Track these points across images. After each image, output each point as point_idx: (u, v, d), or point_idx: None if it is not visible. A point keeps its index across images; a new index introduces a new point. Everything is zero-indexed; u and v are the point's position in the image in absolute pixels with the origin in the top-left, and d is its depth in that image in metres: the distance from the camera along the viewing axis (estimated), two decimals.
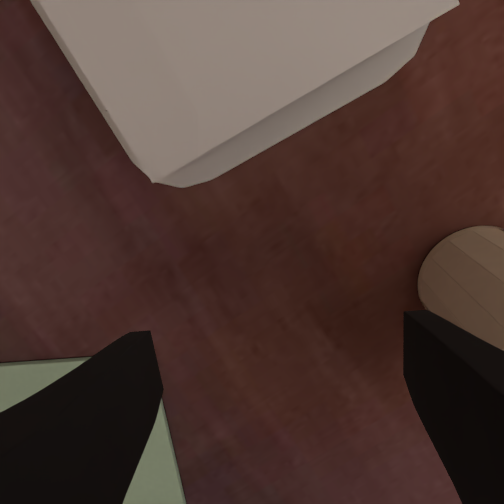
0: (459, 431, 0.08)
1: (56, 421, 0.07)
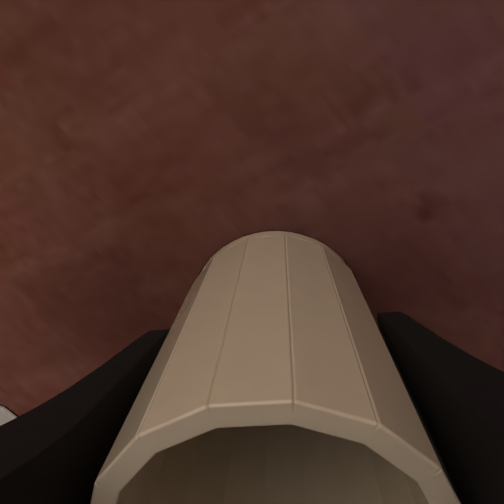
0: None
1: (88, 419, 0.07)
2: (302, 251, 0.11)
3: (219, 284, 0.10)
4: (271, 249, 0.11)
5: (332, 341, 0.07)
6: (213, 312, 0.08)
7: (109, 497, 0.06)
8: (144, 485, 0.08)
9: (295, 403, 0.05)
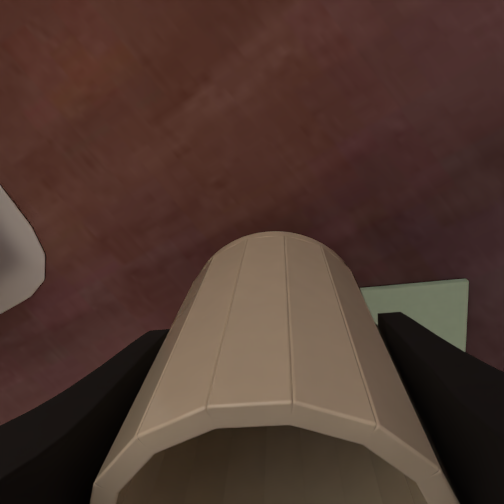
0: None
1: (88, 419, 0.07)
2: (302, 251, 0.11)
3: (218, 284, 0.10)
4: (271, 249, 0.11)
5: (331, 342, 0.07)
6: (212, 312, 0.08)
7: (108, 498, 0.06)
8: (143, 486, 0.08)
9: (294, 404, 0.05)
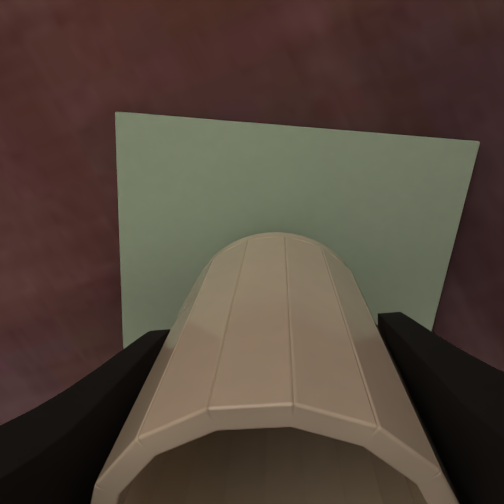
0: None
1: (88, 419, 0.07)
2: (302, 252, 0.11)
3: (219, 285, 0.10)
4: (271, 250, 0.11)
5: (332, 343, 0.07)
6: (213, 314, 0.08)
7: (109, 499, 0.06)
8: (144, 487, 0.08)
9: (295, 406, 0.05)
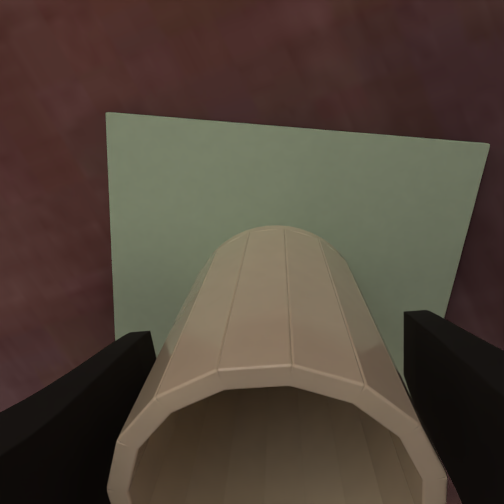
0: (459, 431, 0.08)
1: (56, 421, 0.07)
2: (300, 243, 0.12)
3: (223, 272, 0.10)
4: (271, 241, 0.12)
5: (326, 319, 0.08)
6: (219, 296, 0.09)
7: (129, 453, 0.07)
8: (156, 452, 0.09)
9: (293, 367, 0.06)
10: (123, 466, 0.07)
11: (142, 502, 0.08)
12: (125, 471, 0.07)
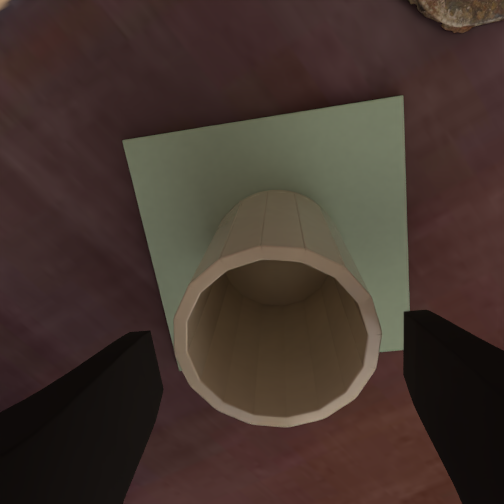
0: (459, 431, 0.08)
1: (55, 421, 0.07)
2: None
3: None
4: None
5: None
6: None
7: (367, 364, 0.11)
8: None
9: (287, 425, 0.12)
10: (371, 353, 0.11)
11: (358, 309, 0.11)
12: (370, 349, 0.11)
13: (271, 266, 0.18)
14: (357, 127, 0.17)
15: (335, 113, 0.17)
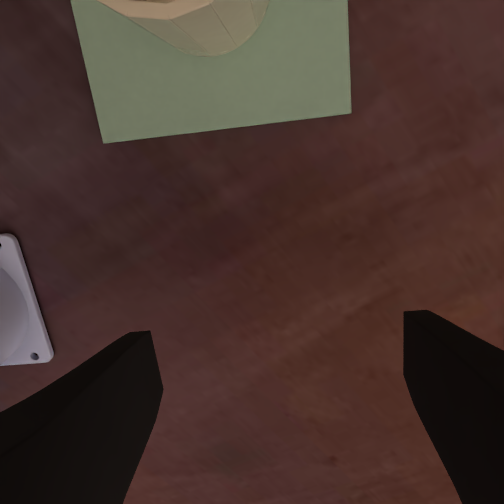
0: (459, 431, 0.08)
1: (55, 421, 0.07)
2: (196, 51, 0.16)
3: (240, 24, 0.14)
4: (216, 48, 0.16)
5: (159, 30, 0.12)
6: (234, 17, 0.13)
7: None
8: None
9: (168, 17, 0.11)
10: None
11: None
12: None
13: None
14: None
15: None
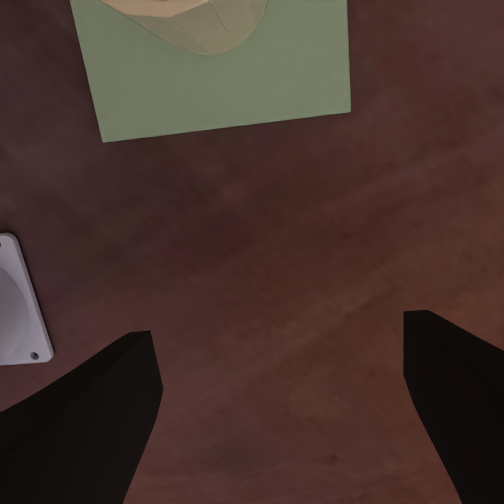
0: (459, 431, 0.08)
1: (56, 421, 0.07)
2: (195, 50, 0.16)
3: (239, 22, 0.14)
4: (215, 47, 0.16)
5: (158, 28, 0.12)
6: (233, 15, 0.13)
7: None
8: None
9: (166, 14, 0.11)
10: None
11: None
12: None
13: None
14: None
15: None
